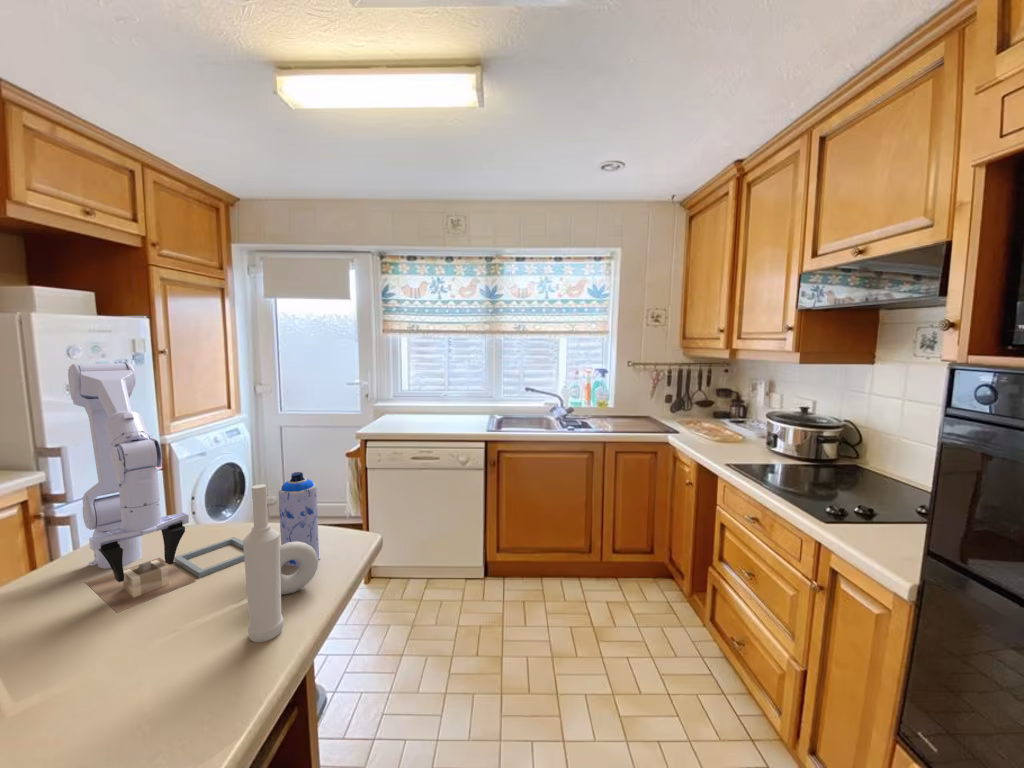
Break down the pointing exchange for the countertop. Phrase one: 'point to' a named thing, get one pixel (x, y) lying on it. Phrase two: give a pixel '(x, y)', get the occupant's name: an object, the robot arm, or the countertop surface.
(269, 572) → the bottle
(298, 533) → the aerosol can
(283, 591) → the donut
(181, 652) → the countertop surface
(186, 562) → the tray
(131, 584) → the hollow wooden block
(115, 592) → the stake board
